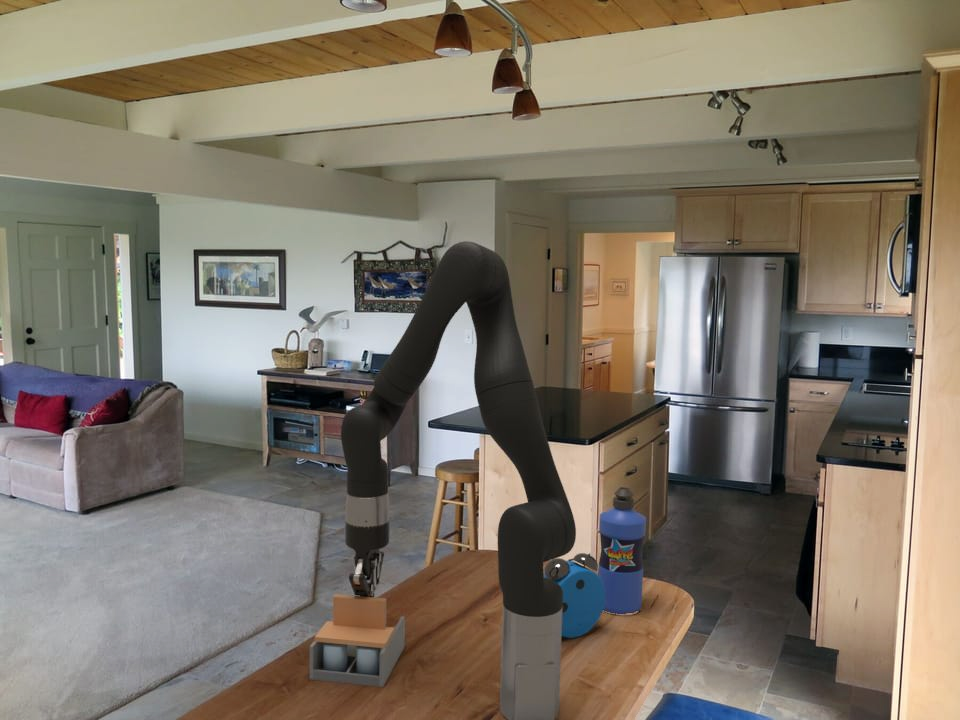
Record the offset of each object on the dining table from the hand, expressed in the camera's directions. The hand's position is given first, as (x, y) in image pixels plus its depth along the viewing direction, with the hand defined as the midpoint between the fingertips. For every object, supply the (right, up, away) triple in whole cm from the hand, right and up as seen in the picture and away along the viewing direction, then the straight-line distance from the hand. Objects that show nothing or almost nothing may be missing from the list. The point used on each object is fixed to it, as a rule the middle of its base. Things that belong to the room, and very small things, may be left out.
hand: (367, 613), depth 138 cm
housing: (-1, -8, -3) cm, 9 cm away
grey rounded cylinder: (-4, -8, -6) cm, 11 cm away
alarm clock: (+37, -8, +12) cm, 39 cm away
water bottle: (+48, -7, +24) cm, 55 cm away
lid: (-1, -2, -6) cm, 6 cm away
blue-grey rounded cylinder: (+1, -8, -7) cm, 11 cm away
